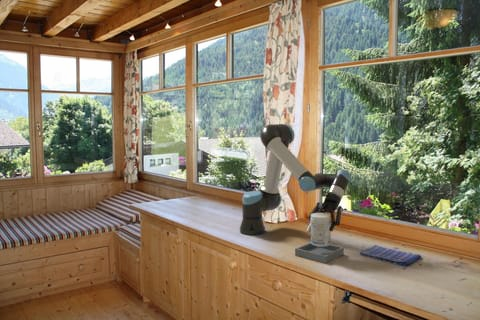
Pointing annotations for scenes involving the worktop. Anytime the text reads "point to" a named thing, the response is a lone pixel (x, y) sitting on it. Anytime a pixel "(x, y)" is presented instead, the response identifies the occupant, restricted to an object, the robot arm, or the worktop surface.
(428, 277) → the worktop surface
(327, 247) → the tray
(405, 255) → the dish towel
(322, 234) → the supplement tub
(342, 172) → the robot arm
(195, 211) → the worktop surface
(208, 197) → the worktop surface
